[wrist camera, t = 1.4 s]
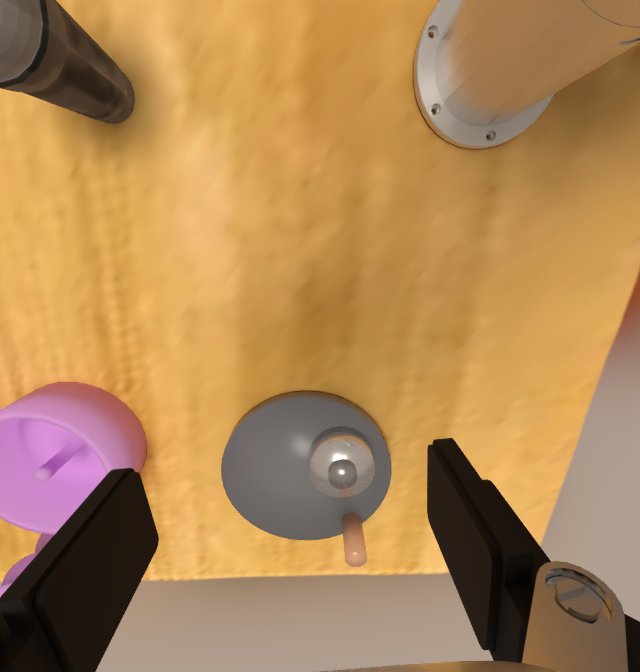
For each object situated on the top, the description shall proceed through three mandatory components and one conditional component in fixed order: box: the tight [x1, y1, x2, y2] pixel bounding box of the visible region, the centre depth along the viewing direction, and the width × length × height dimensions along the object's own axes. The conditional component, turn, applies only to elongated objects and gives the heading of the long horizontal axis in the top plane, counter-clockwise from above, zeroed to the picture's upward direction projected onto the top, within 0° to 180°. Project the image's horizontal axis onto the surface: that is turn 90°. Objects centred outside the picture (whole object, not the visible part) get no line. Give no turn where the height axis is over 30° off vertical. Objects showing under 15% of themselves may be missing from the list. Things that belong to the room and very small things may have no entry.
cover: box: [309, 426, 375, 497], centre depth 36 cm, size 7×7×4 cm
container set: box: [0, 382, 147, 597], centre depth 34 cm, size 25×15×13 cm, turn 170°
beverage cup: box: [0, 0, 134, 124], centre depth 19 cm, size 7×7×20 cm
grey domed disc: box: [221, 391, 391, 567], centre depth 37 cm, size 20×20×7 cm
